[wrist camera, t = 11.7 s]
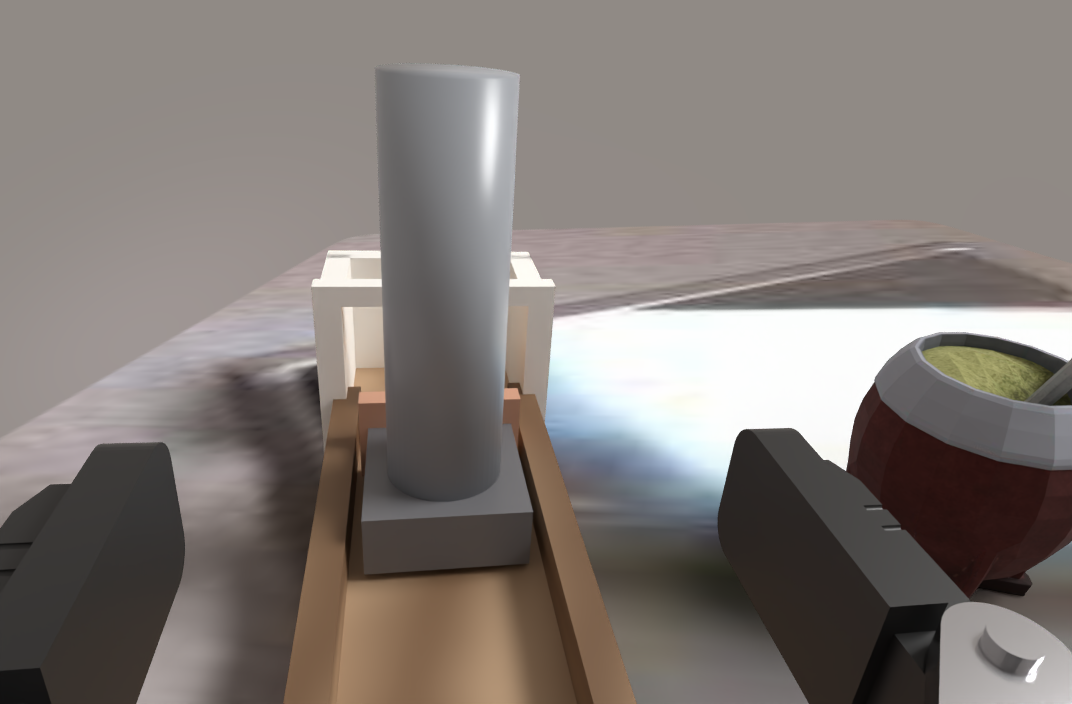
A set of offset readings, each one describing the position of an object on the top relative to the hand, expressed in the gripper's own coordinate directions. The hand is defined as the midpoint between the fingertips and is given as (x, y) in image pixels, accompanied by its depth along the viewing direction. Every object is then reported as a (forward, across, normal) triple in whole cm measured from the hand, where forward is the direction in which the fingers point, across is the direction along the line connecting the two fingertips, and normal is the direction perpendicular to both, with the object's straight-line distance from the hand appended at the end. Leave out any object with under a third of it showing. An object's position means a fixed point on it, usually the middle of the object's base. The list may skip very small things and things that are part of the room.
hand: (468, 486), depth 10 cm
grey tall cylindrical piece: (+11, 0, +9) cm, 15 cm away
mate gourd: (+8, -18, +11) cm, 22 cm away
